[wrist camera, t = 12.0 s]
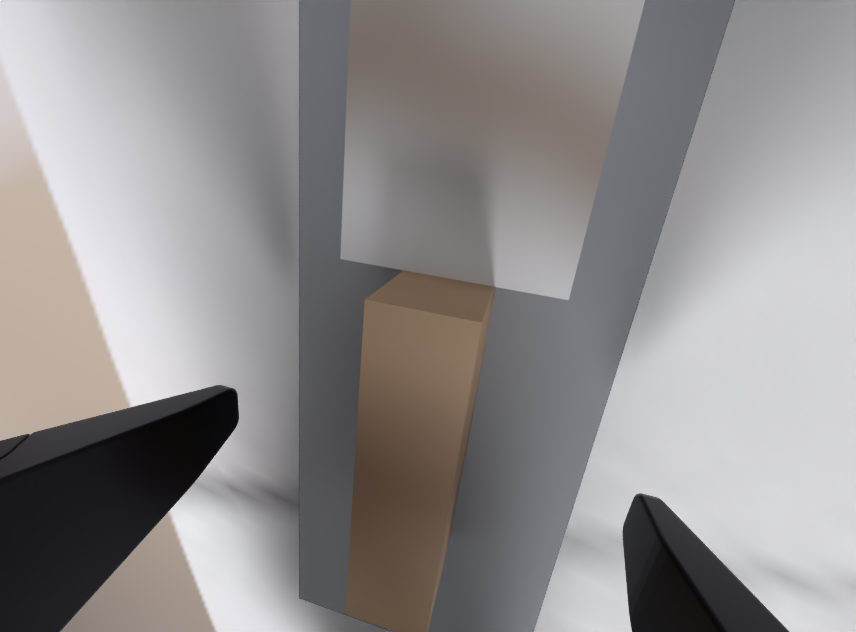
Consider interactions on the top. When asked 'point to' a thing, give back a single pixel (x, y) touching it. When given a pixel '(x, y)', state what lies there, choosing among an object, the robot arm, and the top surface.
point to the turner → (457, 238)
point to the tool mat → (490, 330)
